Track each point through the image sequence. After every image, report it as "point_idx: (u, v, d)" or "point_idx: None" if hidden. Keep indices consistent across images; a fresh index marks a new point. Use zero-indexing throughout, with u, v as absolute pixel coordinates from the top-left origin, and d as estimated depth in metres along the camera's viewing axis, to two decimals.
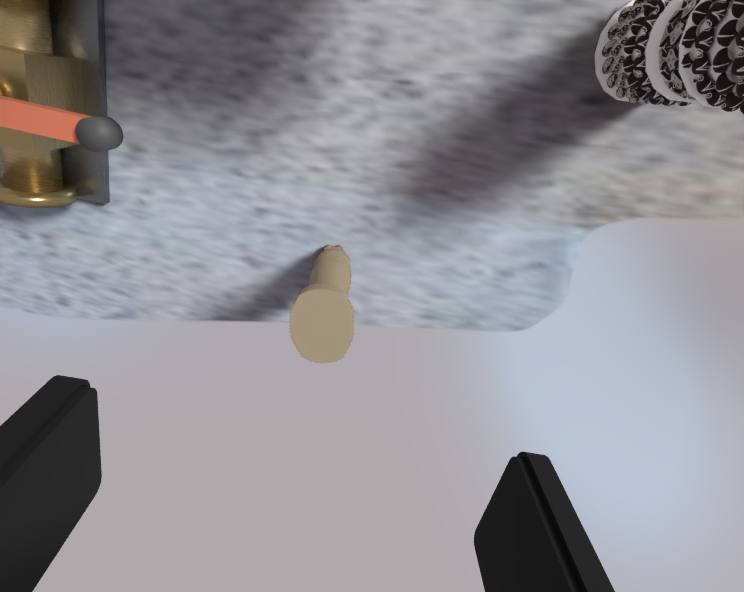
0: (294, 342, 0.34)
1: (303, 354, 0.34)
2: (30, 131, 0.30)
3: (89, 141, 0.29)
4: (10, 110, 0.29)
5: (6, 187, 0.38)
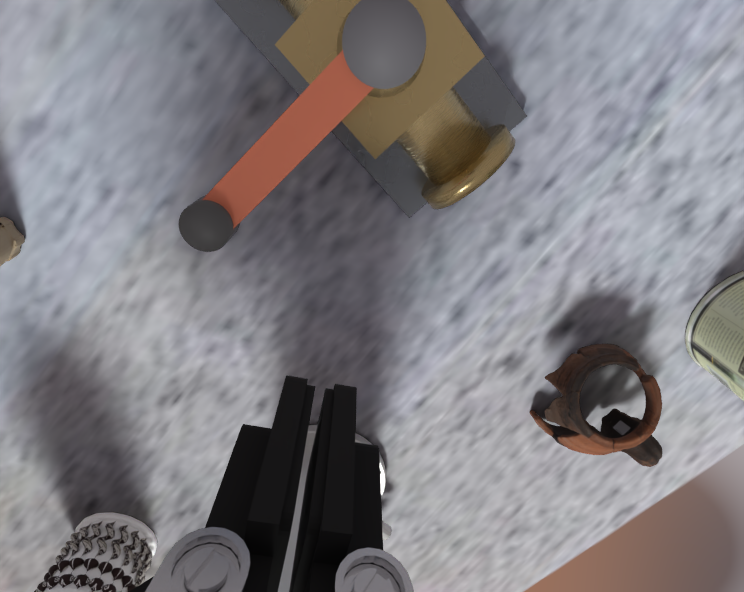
0: None
1: None
2: (260, 141, 0.18)
3: (199, 217, 0.19)
4: (297, 142, 0.18)
5: None
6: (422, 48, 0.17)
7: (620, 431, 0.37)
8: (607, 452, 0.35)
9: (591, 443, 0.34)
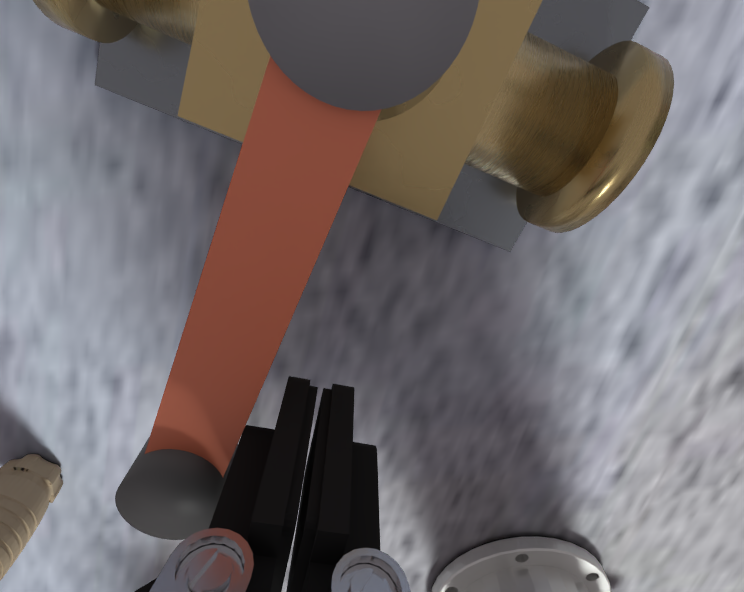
0: None
1: None
2: (192, 321, 0.08)
3: (148, 495, 0.10)
4: (265, 293, 0.08)
5: None
6: None
7: None
8: None
9: None
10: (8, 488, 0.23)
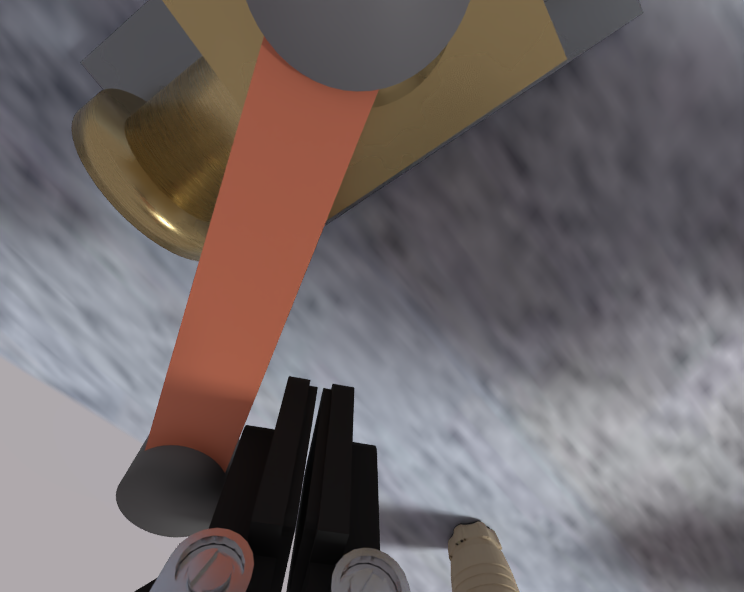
0: None
1: None
2: (189, 313, 0.08)
3: (149, 492, 0.09)
4: (264, 283, 0.08)
5: (135, 155, 0.14)
6: None
7: None
8: None
9: None
10: (468, 559, 0.27)
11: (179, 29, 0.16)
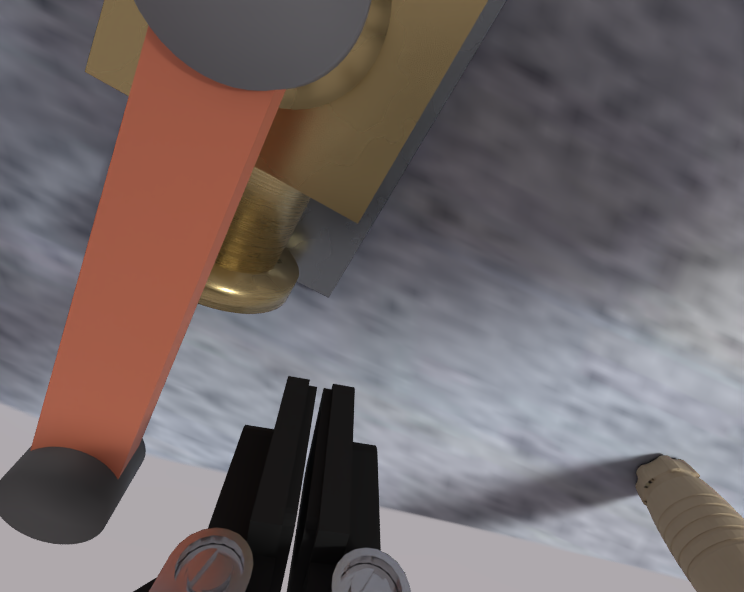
0: None
1: None
2: (76, 309, 0.08)
3: (28, 495, 0.09)
4: (155, 284, 0.08)
5: None
6: None
7: None
8: None
9: None
10: (665, 499, 0.24)
11: None
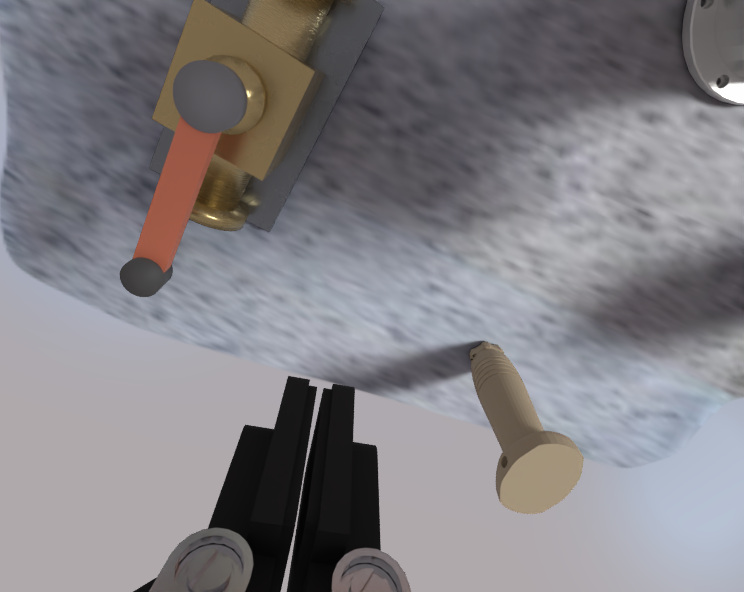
0: (502, 487, 0.29)
1: (503, 500, 0.30)
2: (153, 201, 0.23)
3: (132, 272, 0.25)
4: (180, 193, 0.23)
5: None
6: (236, 91, 0.21)
7: None
8: None
9: None
10: (476, 362, 0.40)
11: None
